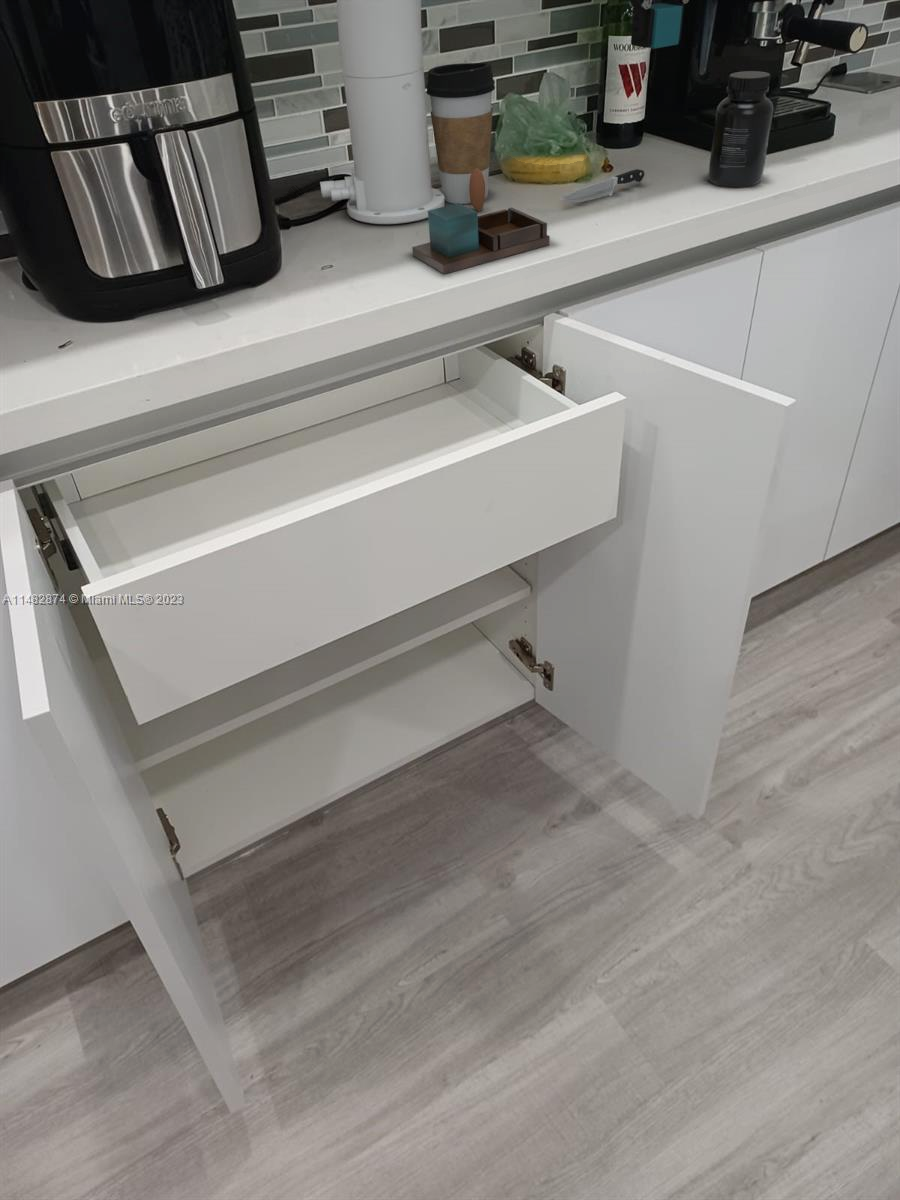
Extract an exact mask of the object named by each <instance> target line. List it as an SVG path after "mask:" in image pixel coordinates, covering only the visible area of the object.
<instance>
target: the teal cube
mask: <svg viewBox="0 0 900 1200" xmlns="http://www.w3.org/2000/svg"><path fill="white" fill-rule="evenodd" d="M650 8H652V9H654V22H653V33H652V43H651V46H650V47H647V48H648V49H653V50H654V49H660V48H667V47H671V46H677V45H678V46H679V43H680V41H679V34H680V25H681V15H682V6H678V5H670V4H664V2H659V3H651V6H650Z"/></svg>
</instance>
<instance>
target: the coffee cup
mask: <svg viewBox="0 0 900 1200" xmlns="http://www.w3.org/2000/svg"><path fill="white" fill-rule="evenodd" d="M492 67H493V66H492V63H491V62H464V63H461V62H460V63H450V64H443V65H438V66H435V67H432V68H430V69H429V70H428V72H427V83H426V84H425V89H426V94H427V95H428V96H429V98H430V106H431V107H430V108H431V111H430V118H431V126H432V133H433V137H434V144H435V145H434V146H435V153H436V159H437V166H438V170H439V179H440V185H441V192H442V193H443V194H444V196H445V202H447V203H449V204H457V203H460V204H462V205H466V204H467V205H468V204H472V203H471V200H470V193H469V183H470V177H471V174H472V171H473V170H474V169H475V168H478V169H480V170H481V172H482V174H483V177H484V181H485V200H486V199H487V198H488V195H489V177H490V176H489V173H490V160H491V146H492V145H491V144H492V129H493V114H494V113H493V112H494V111H493V109H494V108H493V107H492V96H493V94H492V93H493V91H495V89H496V87H495V83H496V81H495V80H494V75H493V68H492Z"/></svg>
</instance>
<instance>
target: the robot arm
mask: <svg viewBox="0 0 900 1200" xmlns="http://www.w3.org/2000/svg"><path fill="white" fill-rule="evenodd" d="M689 1H690V0H667V1H664V2H663V4H670V5H678V6H682V15H681V25H680V34H679V42H681V40H682V32H683V31H682V30H683V21H684V12H685V4H688V3H689ZM652 2H653V0H628V3H629V5H628V6H629V7H630V8H632V9H633V10H632V20H631V21H632V22H631V23H632V24H631V36H630V44H631V46H634V47H640V48H643V49H647V48H648V47H650V46H651V43H652V33H653V22H654V9H652V8H650V6H651V5H652V4H653V3H652ZM336 15H337V33H338V44H339V54H340V63H341V72H342V77H343V85H344V95H345V103H346V109H347V118H348V119H347V120H348V126H349V135H350V143H351V152H352V161H353V167H354V168H352V169H351V175H350V176H344V179H342V180H326V181H325V180H324V181H319V185H320V193H321V198H322V199H329V198H330V199H331V201H332V202H336V201H342V200H348V201H347V202H346V211H347V215H349V217H350V218H351V219H354V220H356V221H358V222H361V223H366V224H373V225H399V224H406V223H407V224H408V223H412V222H418V221H422V220H425V219H428V211H429V210H433V209H437V208H441V207H445V206H446V201H445V196H444V194H443V193H442V191H440V190H439V189H437V188H434V187H433V185H432V172H431V156H430V155H431V154H430V141H429V128H428V127H429V126H428V113H427V98H426V83H425V82H426V81H425V70H424V69H425V68H424V54H423V52H424V51H423V36H422V0H336Z"/></svg>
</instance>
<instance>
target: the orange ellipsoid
mask: <svg viewBox="0 0 900 1200" xmlns="http://www.w3.org/2000/svg"><path fill="white" fill-rule="evenodd" d="M469 193H470V200H471V203H470V204H471V206H472V208H473V210H474V211H476V212H480V211H481V210H482V209H483V207H484V204H485V201H486V199H485V181H484V177H483V174H482V172H481V170H480V169H478V168H475V169H474V170H473V171H472V174H471V177H470V183H469Z"/></svg>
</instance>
